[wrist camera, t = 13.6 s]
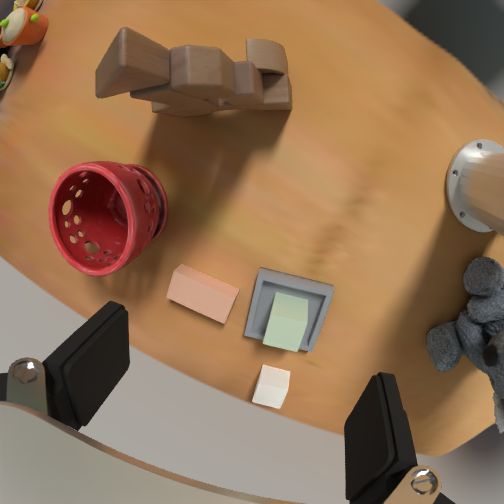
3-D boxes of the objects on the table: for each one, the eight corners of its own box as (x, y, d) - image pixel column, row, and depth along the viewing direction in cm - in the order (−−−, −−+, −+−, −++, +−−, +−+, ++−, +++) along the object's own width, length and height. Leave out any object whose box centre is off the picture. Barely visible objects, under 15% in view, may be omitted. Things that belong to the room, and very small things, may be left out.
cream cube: (290, 371, 48) (288, 390, 43) (282, 389, 49) (279, 408, 45) (262, 364, 48) (258, 382, 44) (256, 383, 50) (251, 401, 45)
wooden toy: (289, 58, 33) (258, -56, 10) (292, 109, 35) (265, 53, 12) (170, 71, 35) (27, 23, 12) (171, 119, 38) (21, 112, 14)
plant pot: (187, 239, 43) (147, 273, 32) (112, 250, 46) (64, 281, 35) (167, 145, 39) (117, 149, 28) (92, 167, 42) (36, 180, 31)
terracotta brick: (239, 288, 44) (235, 298, 42) (229, 313, 46) (224, 323, 43) (181, 262, 45) (173, 270, 42) (174, 288, 46) (166, 297, 44)
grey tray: (333, 285, 41) (334, 291, 40) (312, 343, 45) (312, 351, 43) (260, 267, 42) (258, 273, 40) (246, 327, 46) (244, 335, 44)
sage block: (308, 299, 42) (307, 323, 37) (299, 326, 44) (297, 352, 38) (275, 291, 43) (270, 314, 37) (268, 319, 44) (262, 343, 39)
